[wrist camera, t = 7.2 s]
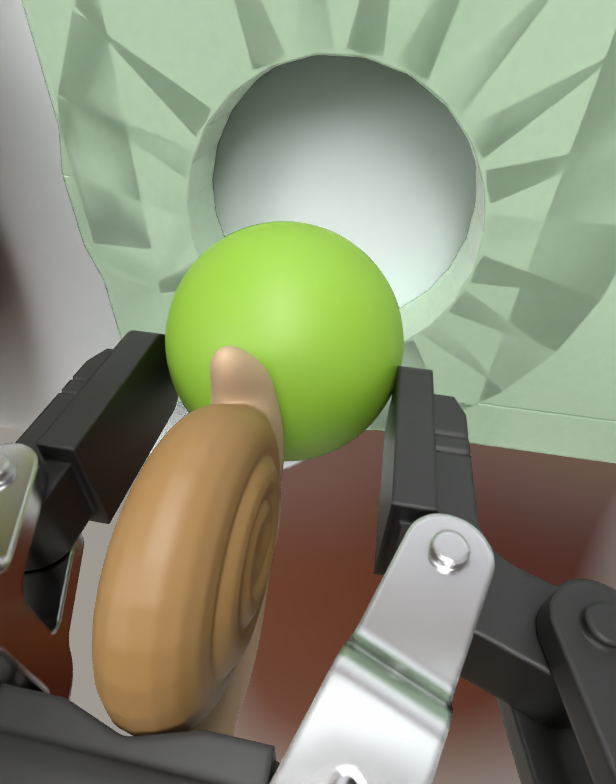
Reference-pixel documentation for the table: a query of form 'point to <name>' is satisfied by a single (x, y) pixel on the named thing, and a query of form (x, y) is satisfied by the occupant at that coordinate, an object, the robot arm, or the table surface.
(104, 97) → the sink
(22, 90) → the table surface
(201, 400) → the snail figurine
